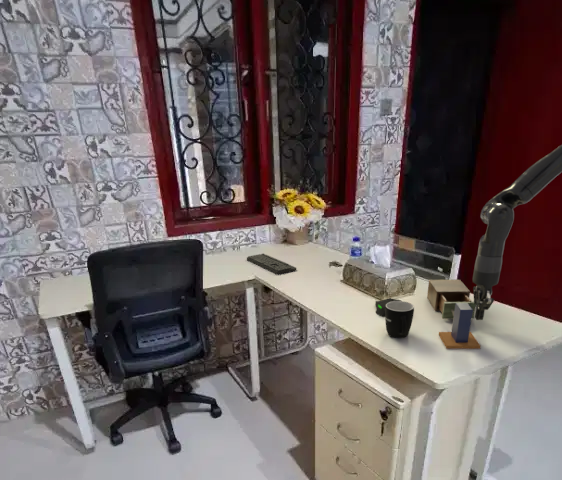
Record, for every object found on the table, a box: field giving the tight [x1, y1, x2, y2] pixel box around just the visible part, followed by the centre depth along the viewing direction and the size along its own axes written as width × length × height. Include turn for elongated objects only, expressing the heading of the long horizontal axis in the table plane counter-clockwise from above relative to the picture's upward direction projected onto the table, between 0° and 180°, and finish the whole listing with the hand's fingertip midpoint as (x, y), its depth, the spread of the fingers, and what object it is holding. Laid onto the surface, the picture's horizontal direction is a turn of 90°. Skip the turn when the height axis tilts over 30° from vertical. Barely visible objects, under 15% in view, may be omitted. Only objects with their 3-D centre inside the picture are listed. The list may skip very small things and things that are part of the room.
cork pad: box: [438, 331, 481, 350], centre depth 131 cm, size 10×10×1 cm
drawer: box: [438, 293, 476, 320], centre depth 147 cm, size 17×10×6 cm, turn 174°
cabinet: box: [426, 279, 471, 312], centre depth 158 cm, size 14×12×8 cm
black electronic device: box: [374, 297, 402, 318], centre depth 156 cm, size 11×16×4 cm
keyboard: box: [246, 253, 297, 275], centre depth 220 cm, size 35×11×2 cm, turn 30°
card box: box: [450, 303, 473, 343], centre depth 129 cm, size 4×6×11 cm, turn 174°
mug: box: [384, 300, 415, 339], centre depth 135 cm, size 12×9×10 cm
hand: (478, 318), depth 137 cm, fingers closed
